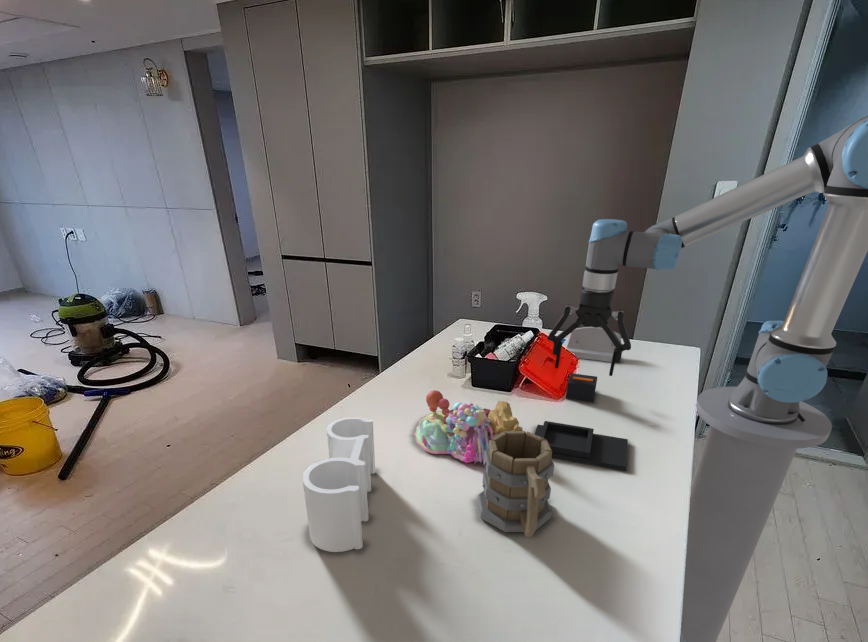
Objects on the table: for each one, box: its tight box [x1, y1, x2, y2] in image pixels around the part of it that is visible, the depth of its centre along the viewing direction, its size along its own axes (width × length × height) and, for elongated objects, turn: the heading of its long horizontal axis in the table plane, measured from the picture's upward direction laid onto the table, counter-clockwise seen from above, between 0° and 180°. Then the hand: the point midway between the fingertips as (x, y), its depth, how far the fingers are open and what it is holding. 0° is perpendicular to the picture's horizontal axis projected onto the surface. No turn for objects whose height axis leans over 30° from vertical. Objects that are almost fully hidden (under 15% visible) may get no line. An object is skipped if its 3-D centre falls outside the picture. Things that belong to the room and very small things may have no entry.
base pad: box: [534, 420, 629, 472], centre depth 112 cm, size 20×12×2 cm, turn 69°
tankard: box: [477, 430, 555, 538], centre depth 87 cm, size 20×13×15 cm, turn 1°
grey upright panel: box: [565, 326, 622, 363], centre depth 159 cm, size 17×5×10 cm, turn 70°
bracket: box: [302, 416, 376, 553], centre depth 92 cm, size 25×10×12 cm, turn 177°
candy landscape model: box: [414, 389, 523, 466], centre depth 114 cm, size 25×24×9 cm
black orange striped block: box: [565, 372, 598, 403], centre depth 135 cm, size 7×7×5 cm
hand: (583, 370), depth 133 cm, fingers open, 13 cm apart
